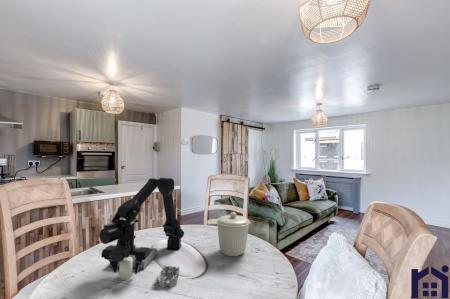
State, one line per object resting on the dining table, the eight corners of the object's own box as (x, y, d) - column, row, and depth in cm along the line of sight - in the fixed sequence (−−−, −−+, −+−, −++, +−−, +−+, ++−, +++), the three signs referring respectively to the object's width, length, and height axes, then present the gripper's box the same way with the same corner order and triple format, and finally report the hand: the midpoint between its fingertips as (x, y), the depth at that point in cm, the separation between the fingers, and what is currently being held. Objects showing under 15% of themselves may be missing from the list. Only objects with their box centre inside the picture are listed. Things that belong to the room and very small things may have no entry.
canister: (231, 264, 103) (232, 219, 103) (208, 250, 117) (209, 211, 117) (256, 253, 115) (257, 213, 115) (233, 242, 129) (233, 206, 129)
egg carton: (175, 288, 84) (176, 277, 84) (156, 288, 84) (156, 277, 84) (180, 273, 95) (181, 263, 95) (163, 273, 94) (163, 263, 95)
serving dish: (156, 255, 110) (156, 248, 110) (143, 269, 96) (144, 261, 96) (126, 253, 112) (126, 246, 112) (109, 267, 98) (109, 259, 98)
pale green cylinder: (134, 273, 93) (134, 257, 93) (128, 280, 88) (128, 263, 88) (123, 273, 94) (123, 256, 94) (116, 279, 89) (116, 262, 89)
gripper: (92, 241, 84) (91, 282, 84) (138, 244, 82) (137, 286, 82) (110, 231, 95) (109, 267, 95) (151, 233, 93) (150, 270, 93)
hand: (125, 272), depth 91 cm, fingers open, 9 cm apart
